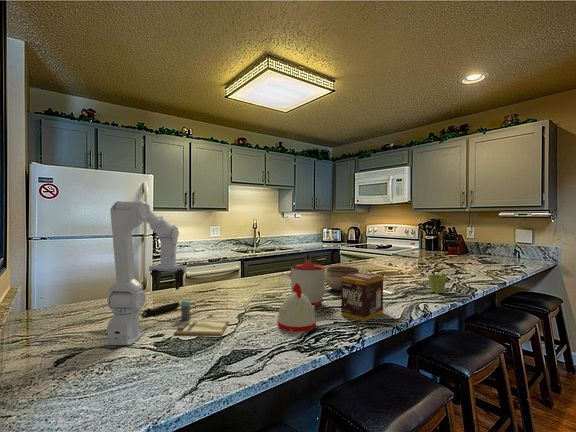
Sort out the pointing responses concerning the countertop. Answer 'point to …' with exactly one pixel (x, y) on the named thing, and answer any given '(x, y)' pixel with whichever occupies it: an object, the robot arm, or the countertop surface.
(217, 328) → the clipboard
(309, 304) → the kitchen timer
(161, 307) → the electric trimmer
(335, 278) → the cooking pot
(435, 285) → the plant pot
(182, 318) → the marker
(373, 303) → the supplement box
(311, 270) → the citrus juicer
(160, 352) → the countertop surface
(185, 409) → the countertop surface
